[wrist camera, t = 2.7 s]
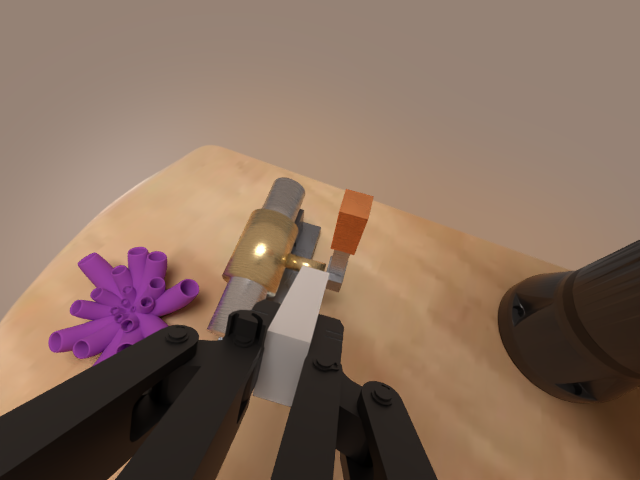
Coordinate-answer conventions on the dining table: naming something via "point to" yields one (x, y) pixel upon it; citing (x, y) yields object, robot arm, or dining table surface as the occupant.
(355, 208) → the lever
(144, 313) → the purple tube coral
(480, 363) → the dining table surface
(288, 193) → the valve stand
